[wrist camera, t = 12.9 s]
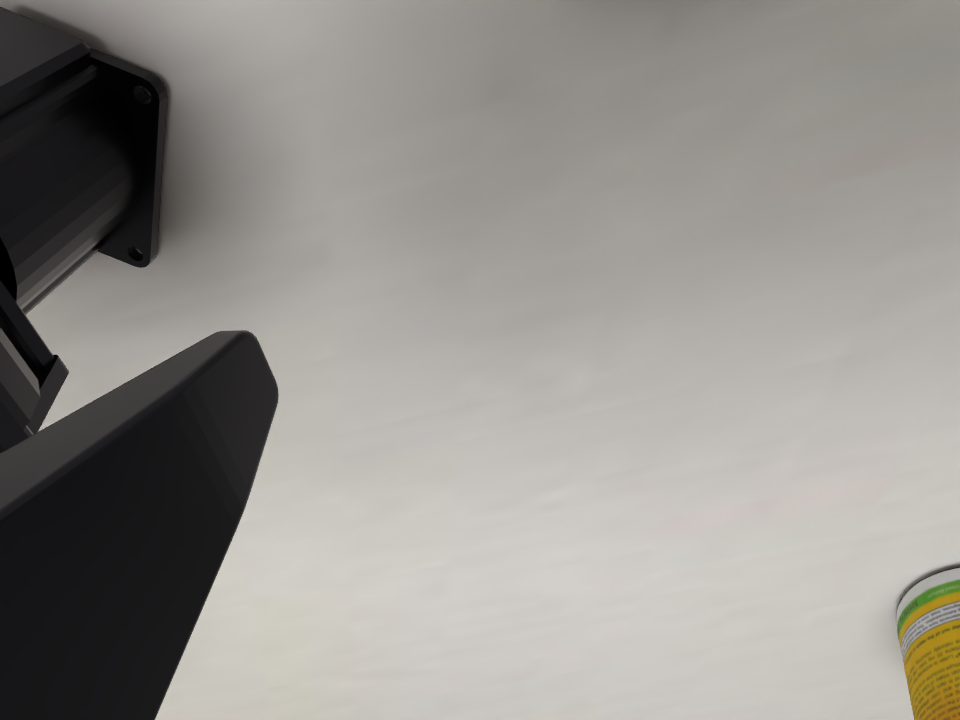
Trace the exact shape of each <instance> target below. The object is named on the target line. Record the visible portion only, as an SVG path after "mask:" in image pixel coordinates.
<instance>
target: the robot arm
mask: <svg viewBox="0 0 960 720" xmlns="http://www.w3.org/2000/svg"><path fill="white" fill-rule="evenodd" d="M141 86H143V87H145V88H146V89H147V90H148V91H149V93H150V95H151V98H149V97H147V96H146V95H145V94H144V93H143V91H142V88H141ZM166 107H167V91H166V88H165V86H164V84H163V82H162V81H161V80H160V79H159V78H158V77H157V76H155V75H154V74H152V73H150V72H148V71H145V70H143V69H140V68H138V67H135V66H133V65H131V64H128V63H126V62H123V61H121V60H118V59H116V58H114V57H111V56H109V55H106V54H104V53H101V52H99V51H96V50H94V49H92V48H89V47H88V46H87V45H86V44H85V43H84V42H83V41H82V40H80V39H77V38H75V37H72V36H70V35H67V34H65V33H63V32H60V31H58V30H55V29H53V28H50V27H48V26H46V25H43V24H41V23H38V22H36V21H33V20H31V19H29V18H26V17H24V16H21V15H19V14H16V13H14V12H11V11H9V10H7V9H4V8H2V7H0V720H155V718H156V716H157V713H158V711H159V709H160V706H161V704H162V702H163V699H164V697H165V695H166V692H167V690H168V688H169V685H170V683H171V681H172V678H173V676H174V674H175V671H176V669H177V667H178V664H179V662H180V660H181V657H182V655H183V653H184V650H185V648H186V646H187V643H188V641H189V639H190V636H191V634H192V632H193V630H194V627H195V625H196V623H197V620H198V618H199V616H200V613H201V611H202V609H203V606H204V604H205V602H206V599H207V597H208V595H209V592H210V590H211V588H212V585H213V583H214V581H215V578H216V576H217V574H218V571H219V569H220V567H221V564H222V562H223V560H224V557H225V555H226V553H227V550H228V548H229V546H230V543H231V541H232V539H233V536H234V534H235V532H236V529H237V527H238V524H239V522H240V519H241V517H242V514H243V512H244V509H245V506H246V503H247V500H248V497H249V495H250V492H251V488H252V485H253V482H254V479H255V476H256V472H257V469H258V466H259V463H260V459H261V456H262V453H263V450H264V446H265V443H266V440H267V437H268V433H269V430H270V427H271V424H272V420H273V417H274V414H275V411H276V407H277V403H278V387H277V383H276V380H275V378H274V376H273V374H272V371H271V369H270V367H269V365H268V362H267V360H266V358H265V355H264V353H263V351H262V349H261V346H260V344H259V342H258V340H257V338H256V337H255V336H254V335H253V334H252V333H251V332H248V331H245V330H241V331H220V332H216V333H214V334H212V335H210V336H208V337H207V338H205V339H203V340H201V341H200V342H198V343H196V344H194V345H192V346H191V347H189V348H187V349H185V350H184V351H182V352H180V353H178V354H176V355H175V356H173V357H171V358H169V359H168V360H166V361H164V362H162V363H160V364H159V365H157V366H155V367H153V368H151V369H150V370H148V371H146V372H144V373H143V374H141V375H139V376H137V377H135V378H134V379H132V380H130V381H128V382H127V383H125V384H123V385H121V386H119V387H118V388H116V389H114V390H112V391H111V392H109V393H107V394H105V395H103V396H102V397H100V398H98V399H96V400H94V401H93V402H91V403H89V404H87V405H86V406H84V407H82V408H80V409H78V410H77V411H75V412H73V413H71V414H70V415H68V416H66V417H64V418H62V419H61V420H59V421H57V422H55V423H54V424H52V425H50V426H48V427H46V428H45V429H43V430H41V431H39V432H38V430H39V428H40V427H41V425H42V423H43V421H44V419H45V417H46V415H47V413H48V411H49V409H50V408H51V406H52V404H53V402H54V400H55V398H56V396H57V394H58V392H59V391H60V389H61V387H62V385H63V383H64V381H65V379H66V377H67V375H68V373H69V371H68V370H67V368H66V367H65V365H64V364H63V362H62V361H61V359H60V358H59V356H58V355H53V354H52V353H51V351H50V350H49V349H48V347H47V346H46V344H45V343H44V341H43V340H42V338H41V337H40V336H39V334H38V333H37V331H36V330H35V328H34V327H33V325H32V324H31V322H30V321H29V320H28V318H27V317H26V314H27V313H28V312H29V311H30V310H32V309H33V308H34V307H35V306H36V305H37V304H38V303H39V302H41V301H42V300H43V299H44V298H45V297H46V296H47V295H48V294H50V293H51V292H52V291H53V290H54V289H55V288H56V287H57V286H59V285H60V284H61V283H62V282H63V281H64V280H65V279H66V278H68V277H69V276H70V275H71V274H72V273H73V272H74V271H75V270H77V269H78V268H79V267H80V266H81V265H82V264H83V263H84V262H86V261H87V260H88V259H89V258H90V257H91V256H92V255H93V254H95V253H96V252H97V251H98V252H101V253H103V254H105V255H108V256H110V257H113V258H115V259H118V260H120V261H123V262H125V263H128V264H130V265H133V266H136V267H140V268H142V267H146V266H147V265H149V264H150V263H151V262H152V261H153V260H154V259H155V258H156V255H157V245H158V229H159V214H160V199H161V183H162V168H163V153H164V138H165V122H166ZM135 247H136V248H137V249H139V250H140V251H141V253H142V254H141V253H140V252H138V251H137V250H136V248H135ZM37 432H38V433H37Z"/></svg>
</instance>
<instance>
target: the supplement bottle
mask: <svg viewBox="0 0 960 720" xmlns="http://www.w3.org/2000/svg"><path fill="white" fill-rule="evenodd" d="M896 622H897V630H898V638H899V643H900V648H901V653H902V658H903V663H904V668H905V674H906V678H907V683H908V689H909V694H910V700H911V705H912V710H913V715H914V720H960V568H956V569H952V570H948V571H944V572H941V573H938V574H935V575H933V576H931V577H928V578H926V579H924V580H922V581H921V582H919V583H918V584H916V585H915V586H914V587H913V588H911V589H910V590H909V591H908V592H907V594H906V595H905V596H904V597H903V599H902V600H901V602H900V604H899V607H898V610H897V616H896Z"/></svg>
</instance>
